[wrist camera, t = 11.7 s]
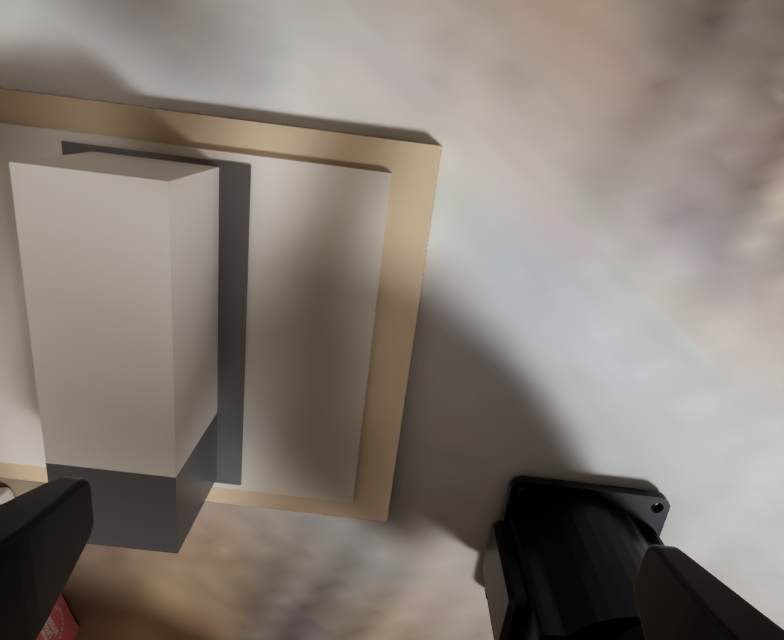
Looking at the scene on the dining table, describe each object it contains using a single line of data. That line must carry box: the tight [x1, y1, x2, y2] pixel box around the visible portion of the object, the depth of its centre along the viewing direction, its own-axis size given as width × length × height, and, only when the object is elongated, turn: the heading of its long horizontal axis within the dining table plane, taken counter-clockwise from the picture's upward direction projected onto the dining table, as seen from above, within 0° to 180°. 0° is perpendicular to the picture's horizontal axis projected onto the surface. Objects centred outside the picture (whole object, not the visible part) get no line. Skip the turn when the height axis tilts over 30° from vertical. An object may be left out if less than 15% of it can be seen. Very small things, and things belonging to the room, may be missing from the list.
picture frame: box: [0, 88, 442, 522], centre depth 20 cm, size 20×15×1 cm
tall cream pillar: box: [9, 151, 219, 553], centre depth 18 cm, size 4×12×4 cm, turn 173°
